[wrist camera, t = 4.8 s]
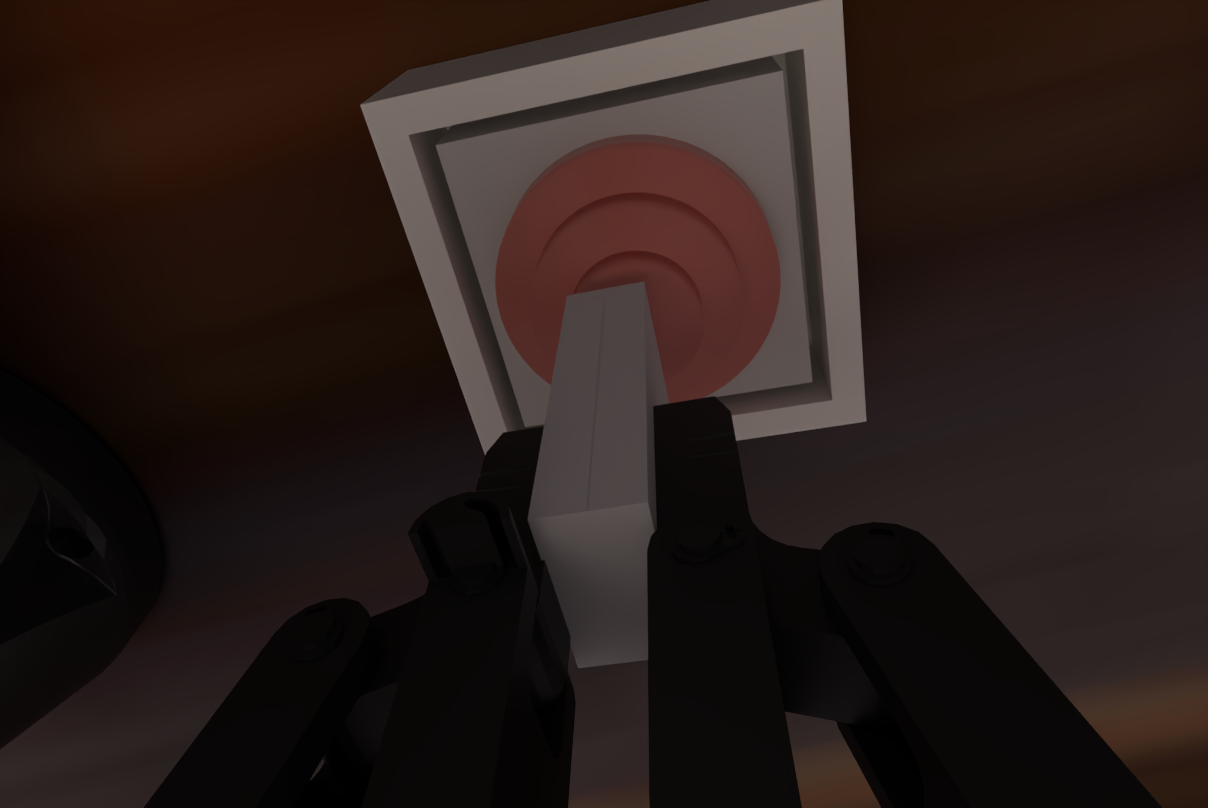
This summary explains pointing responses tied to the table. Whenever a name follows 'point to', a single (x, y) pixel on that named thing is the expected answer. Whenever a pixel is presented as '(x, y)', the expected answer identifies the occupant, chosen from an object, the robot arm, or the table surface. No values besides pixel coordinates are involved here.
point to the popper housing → (618, 60)
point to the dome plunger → (642, 226)
